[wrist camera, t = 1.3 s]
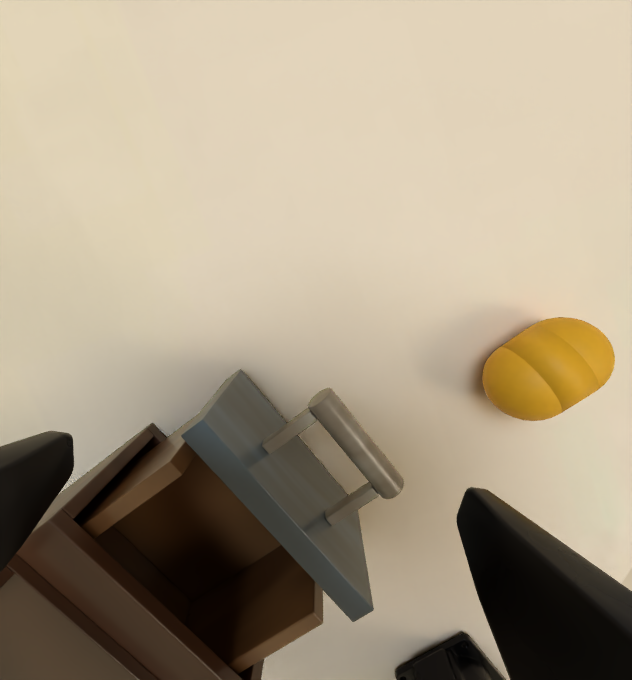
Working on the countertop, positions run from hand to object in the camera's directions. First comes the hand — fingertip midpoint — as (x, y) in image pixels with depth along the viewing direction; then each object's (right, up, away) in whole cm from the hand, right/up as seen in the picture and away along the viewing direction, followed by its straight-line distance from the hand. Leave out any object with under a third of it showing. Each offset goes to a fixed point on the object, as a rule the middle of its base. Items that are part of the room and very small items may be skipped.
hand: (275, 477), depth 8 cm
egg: (+13, +2, +13) cm, 18 cm away
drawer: (-4, -6, +14) cm, 15 cm away
